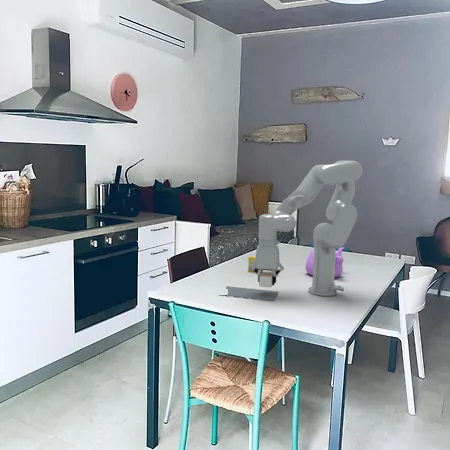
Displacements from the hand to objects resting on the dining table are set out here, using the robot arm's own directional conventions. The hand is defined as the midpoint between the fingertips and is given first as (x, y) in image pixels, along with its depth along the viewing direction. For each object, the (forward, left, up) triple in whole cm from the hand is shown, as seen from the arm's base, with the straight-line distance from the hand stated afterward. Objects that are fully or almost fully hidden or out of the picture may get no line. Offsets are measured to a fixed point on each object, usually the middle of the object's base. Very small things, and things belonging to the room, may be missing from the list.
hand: (267, 283), depth 201 cm
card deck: (0, 0, 0) cm, 0 cm away
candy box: (+9, -39, -6) cm, 40 cm away
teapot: (-22, -47, -6) cm, 52 cm away
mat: (+8, 0, -5) cm, 9 cm away
